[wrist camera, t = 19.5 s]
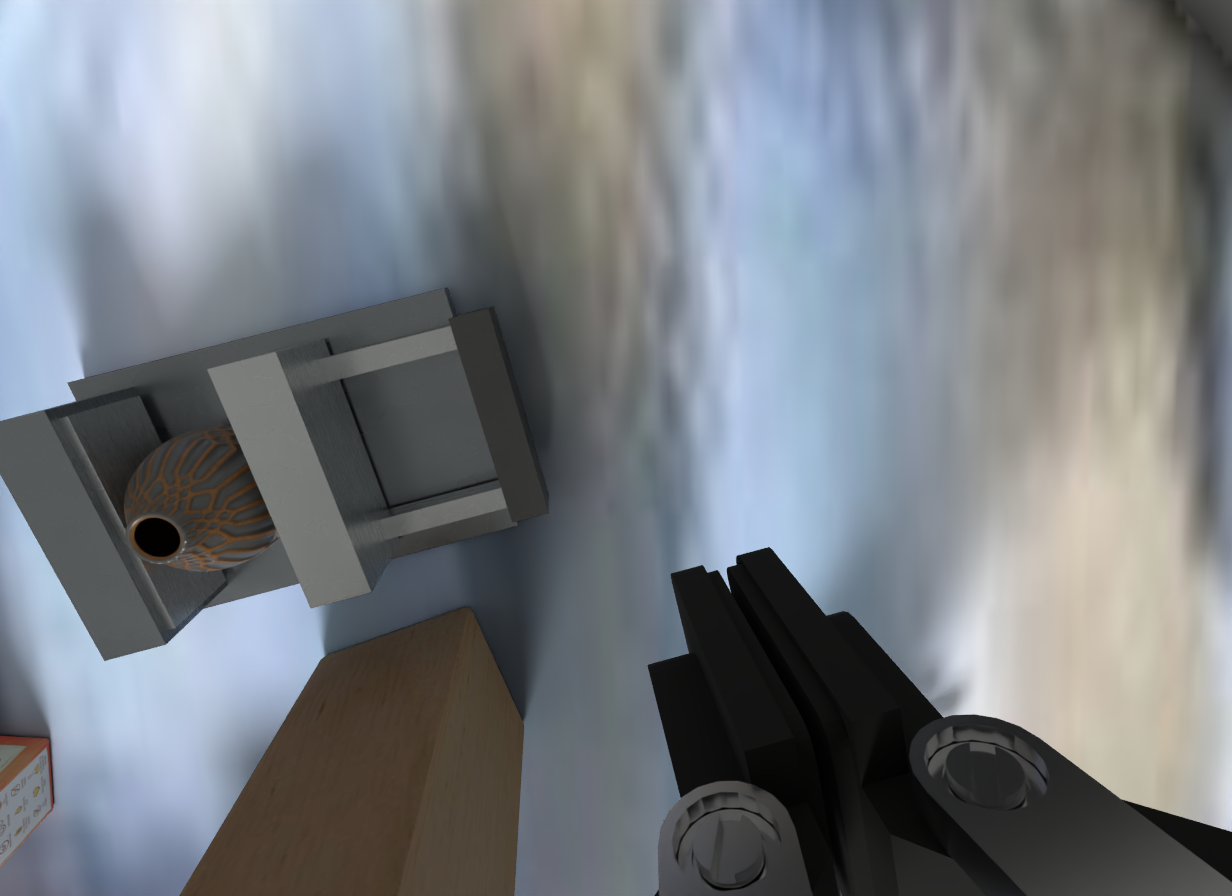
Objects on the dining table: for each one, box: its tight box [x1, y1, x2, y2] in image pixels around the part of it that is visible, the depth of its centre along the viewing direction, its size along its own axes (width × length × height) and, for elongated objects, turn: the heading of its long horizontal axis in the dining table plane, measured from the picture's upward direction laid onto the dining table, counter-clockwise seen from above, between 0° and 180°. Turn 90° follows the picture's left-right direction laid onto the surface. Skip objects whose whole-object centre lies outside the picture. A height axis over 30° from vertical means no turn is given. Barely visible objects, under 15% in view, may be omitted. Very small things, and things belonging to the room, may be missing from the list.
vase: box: [124, 426, 280, 572], centre depth 30 cm, size 7×7×9 cm
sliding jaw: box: [207, 306, 549, 608], centre depth 31 cm, size 12×12×6 cm
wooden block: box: [180, 607, 524, 896], centre depth 31 cm, size 10×10×20 cm
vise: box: [0, 288, 518, 661], centre depth 32 cm, size 20×14×7 cm
